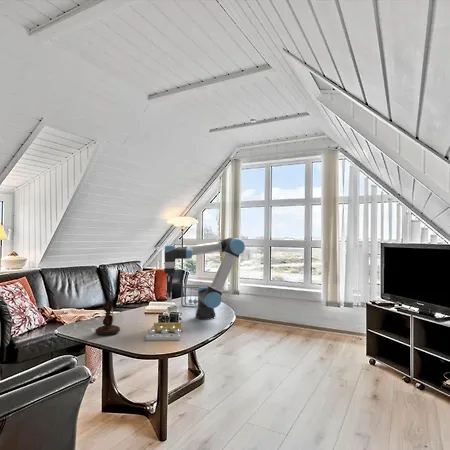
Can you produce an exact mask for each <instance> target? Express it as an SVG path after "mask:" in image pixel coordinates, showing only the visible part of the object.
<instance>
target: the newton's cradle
mask: <svg viewBox="0 0 450 450" xmlns="http://www.w3.org/2000/svg"><path fill="white" fill-rule="evenodd" d="M208 286H209V285H205V284H185V285H184V286H182V287H181V288H180V289H181V292H180V293H181V296H180V298H181V300H180V301H181V303H180V304H181V307H182V308H194V307H198V305H187V304H198V299H196V298H197V297H196V296H197V295H194V296H195V297H194V299H192V289H198V288H199V287H208ZM183 289H184V290H183ZM187 289H189V293H190V298H189V299H188V300H187V299H186V298H187ZM183 293H184V294H183ZM183 295H184V299H183ZM183 300H184V302H183ZM186 300H187V301H188V302H187V301H186ZM183 303H184V304H185V305H186V306H185V305H183Z"/></svg>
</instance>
